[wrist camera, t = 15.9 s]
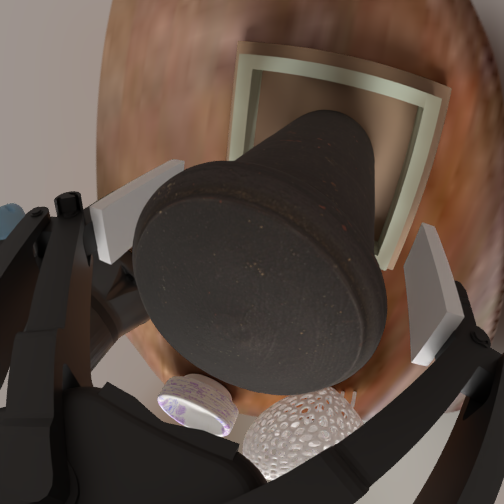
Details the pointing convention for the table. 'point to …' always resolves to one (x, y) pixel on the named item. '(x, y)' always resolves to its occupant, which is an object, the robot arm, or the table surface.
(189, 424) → the paper bowls
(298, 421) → the decorative heart
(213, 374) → the container
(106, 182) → the table surface
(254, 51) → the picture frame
